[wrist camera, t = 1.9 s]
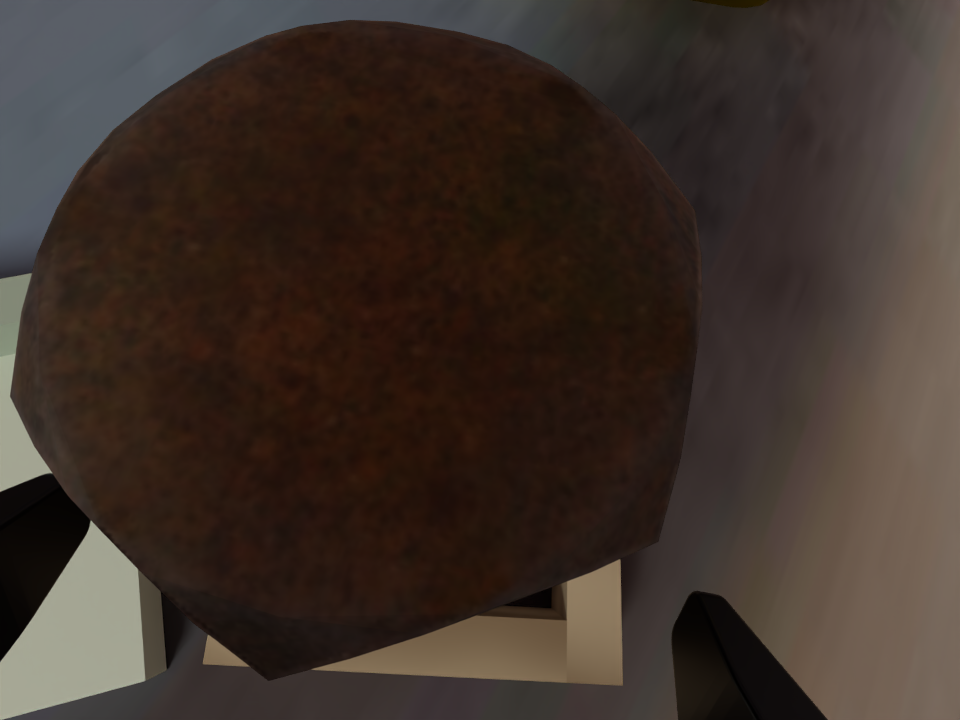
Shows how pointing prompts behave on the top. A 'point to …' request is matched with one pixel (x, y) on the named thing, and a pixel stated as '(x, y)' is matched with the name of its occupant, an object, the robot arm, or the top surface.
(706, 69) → the top surface
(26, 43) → the top surface
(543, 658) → the socket
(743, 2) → the element tile
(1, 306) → the pale green ledge plate
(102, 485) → the bolt
